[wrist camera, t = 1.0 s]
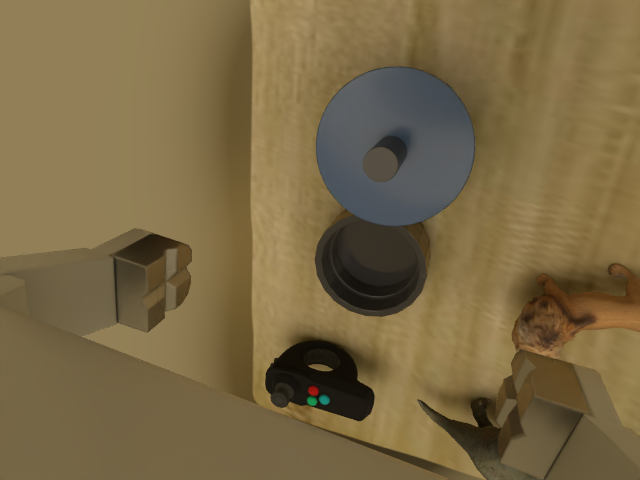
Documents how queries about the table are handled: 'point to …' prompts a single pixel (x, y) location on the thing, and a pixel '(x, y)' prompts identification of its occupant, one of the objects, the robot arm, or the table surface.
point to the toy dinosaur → (479, 442)
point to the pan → (372, 264)
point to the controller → (319, 380)
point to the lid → (395, 146)
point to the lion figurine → (574, 314)
